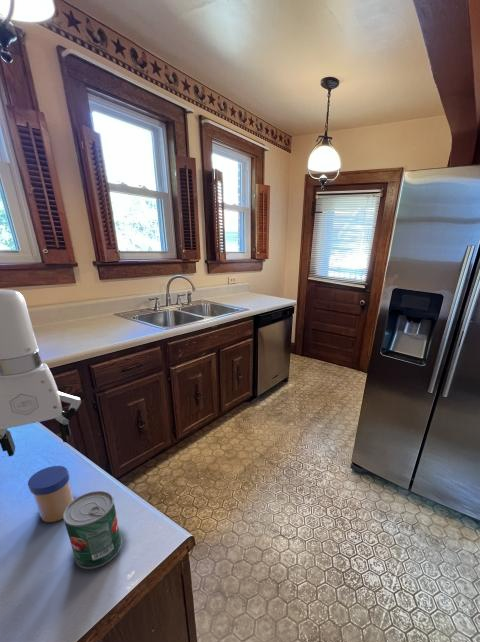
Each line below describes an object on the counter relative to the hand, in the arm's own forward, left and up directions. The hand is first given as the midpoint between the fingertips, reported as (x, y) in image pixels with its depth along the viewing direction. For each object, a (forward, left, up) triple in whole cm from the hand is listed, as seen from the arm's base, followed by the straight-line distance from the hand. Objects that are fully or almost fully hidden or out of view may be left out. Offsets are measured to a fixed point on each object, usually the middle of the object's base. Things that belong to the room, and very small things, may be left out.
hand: (39, 444), depth 61 cm
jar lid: (0, 0, -8) cm, 8 cm away
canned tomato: (+6, -15, -18) cm, 24 cm away
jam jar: (0, 0, -17) cm, 17 cm away
